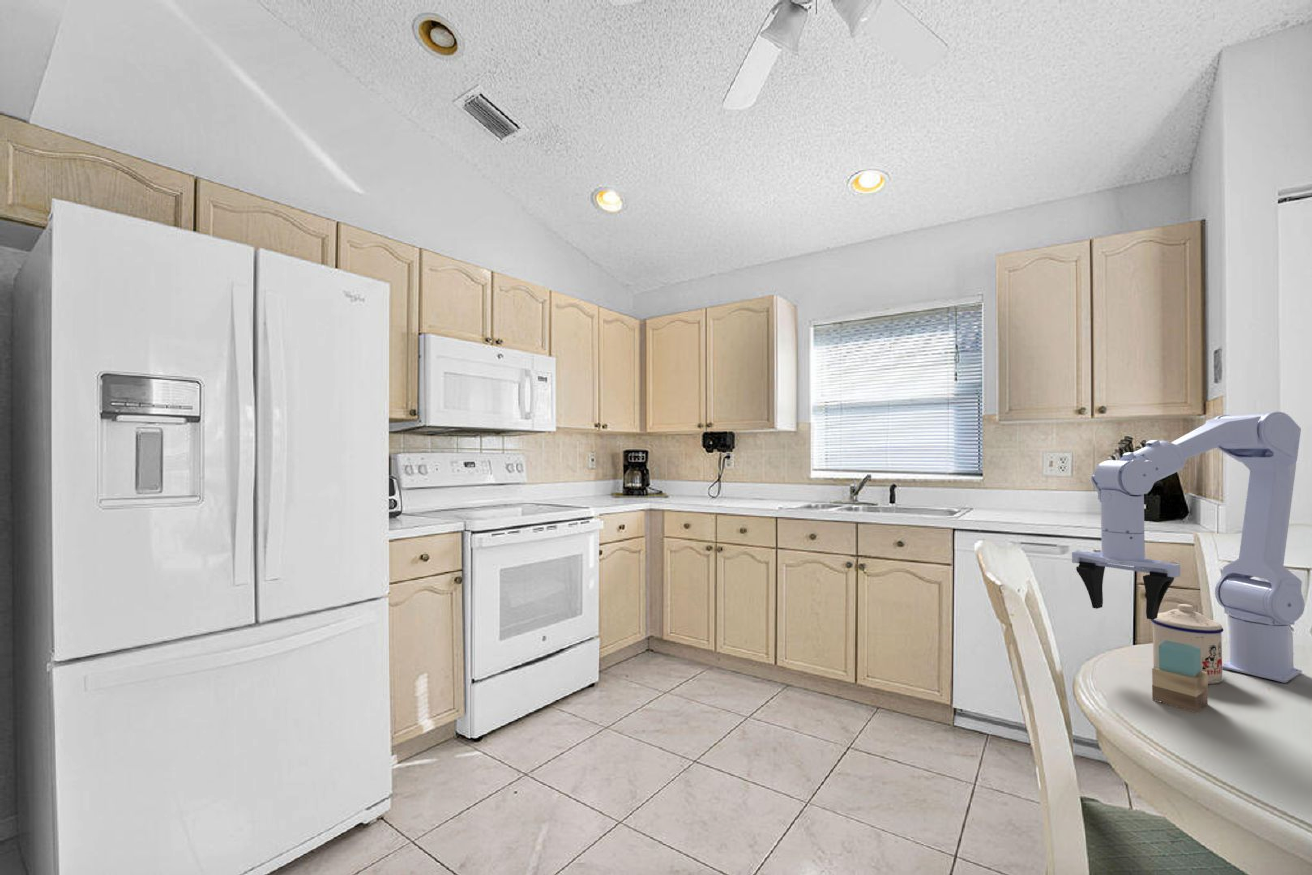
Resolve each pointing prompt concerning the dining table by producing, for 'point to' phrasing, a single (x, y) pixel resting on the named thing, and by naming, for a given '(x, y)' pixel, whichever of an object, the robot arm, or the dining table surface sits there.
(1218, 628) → the ceramic jar
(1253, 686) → the dining table surface
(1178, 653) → the teal block
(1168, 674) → the oak slab upper
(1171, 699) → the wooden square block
